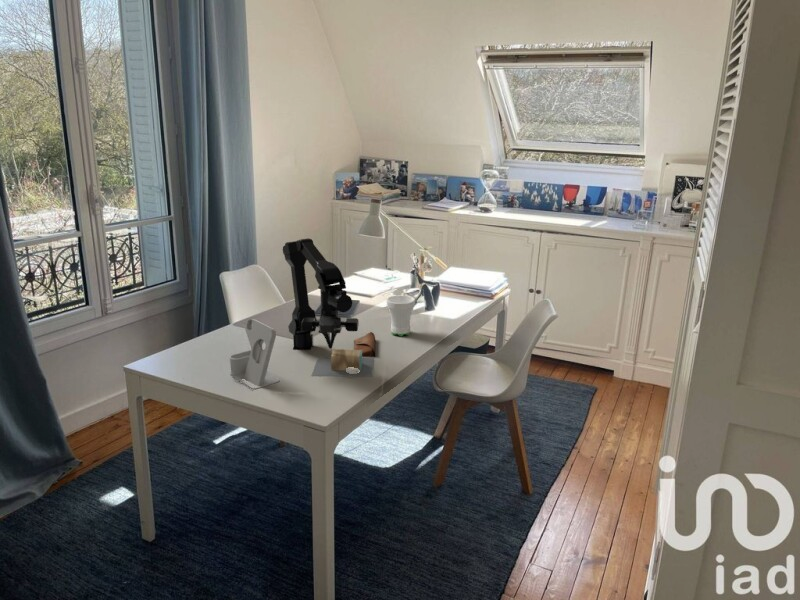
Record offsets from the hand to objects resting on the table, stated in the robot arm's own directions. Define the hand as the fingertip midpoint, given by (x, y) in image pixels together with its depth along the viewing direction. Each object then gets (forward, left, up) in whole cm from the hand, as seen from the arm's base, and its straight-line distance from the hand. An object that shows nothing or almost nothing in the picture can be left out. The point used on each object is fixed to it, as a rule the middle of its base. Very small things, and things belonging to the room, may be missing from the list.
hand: (330, 348), depth 204 cm
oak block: (0, 0, -4) cm, 4 cm away
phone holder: (-24, -9, -7) cm, 27 cm away
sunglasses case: (+10, +18, -8) cm, 22 cm away
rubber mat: (+4, 0, -7) cm, 8 cm away
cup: (+23, +34, -7) cm, 42 cm away
